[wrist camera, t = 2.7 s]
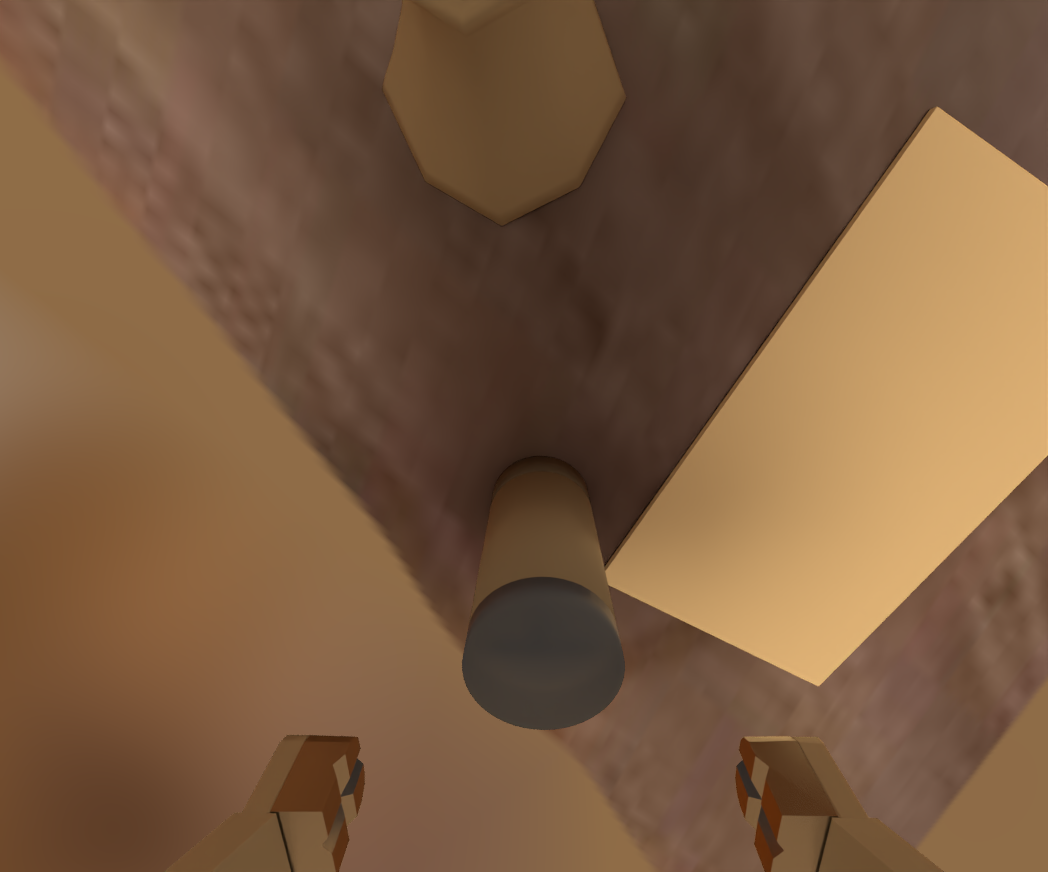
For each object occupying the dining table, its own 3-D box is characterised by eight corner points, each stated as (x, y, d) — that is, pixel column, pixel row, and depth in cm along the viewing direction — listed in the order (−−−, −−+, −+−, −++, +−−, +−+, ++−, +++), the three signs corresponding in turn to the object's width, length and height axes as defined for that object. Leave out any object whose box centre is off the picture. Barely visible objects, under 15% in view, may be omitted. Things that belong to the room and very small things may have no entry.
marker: (520, 439, 20) (509, 576, 11) (607, 483, 20) (656, 645, 12) (476, 516, 21) (435, 692, 13) (558, 556, 22) (572, 750, 13)
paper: (930, 109, 16) (937, 106, 15) (1192, 297, 17) (1202, 298, 17) (597, 576, 22) (598, 580, 22) (815, 681, 24) (818, 686, 23)
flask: (508, -115, 14) (457, -844, 5) (665, 101, 16) (853, -119, 6) (344, 91, 16) (72, -144, 7) (501, 265, 18) (464, 278, 8)
